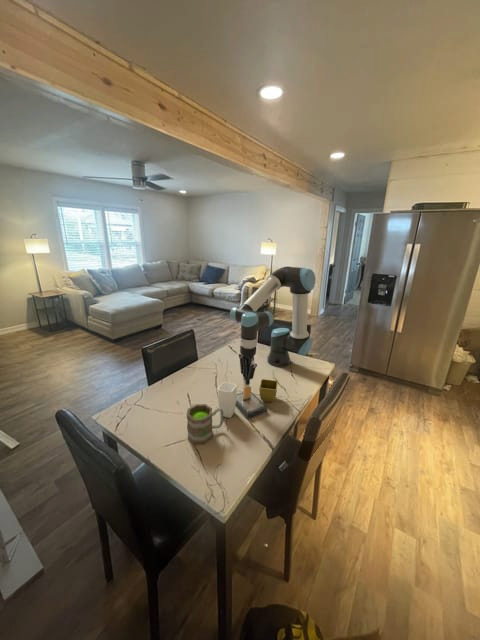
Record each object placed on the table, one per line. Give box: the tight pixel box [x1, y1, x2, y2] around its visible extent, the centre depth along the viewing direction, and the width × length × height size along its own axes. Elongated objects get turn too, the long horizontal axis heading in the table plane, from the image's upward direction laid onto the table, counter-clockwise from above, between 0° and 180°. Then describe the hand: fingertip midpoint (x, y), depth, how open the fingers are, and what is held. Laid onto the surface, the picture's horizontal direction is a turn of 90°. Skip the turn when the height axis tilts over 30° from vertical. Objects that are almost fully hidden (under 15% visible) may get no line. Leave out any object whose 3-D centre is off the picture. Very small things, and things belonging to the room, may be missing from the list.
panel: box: [235, 391, 268, 420], centre depth 129 cm, size 11×16×3 cm
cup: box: [217, 381, 238, 419], centre depth 121 cm, size 7×7×15 cm
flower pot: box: [258, 378, 279, 403], centre depth 134 cm, size 9×9×9 cm
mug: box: [186, 403, 224, 446], centre depth 109 cm, size 16×11×12 cm
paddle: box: [242, 385, 252, 400], centre depth 129 cm, size 4×1×7 cm, turn 121°
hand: (246, 389), depth 129 cm, fingers closed
